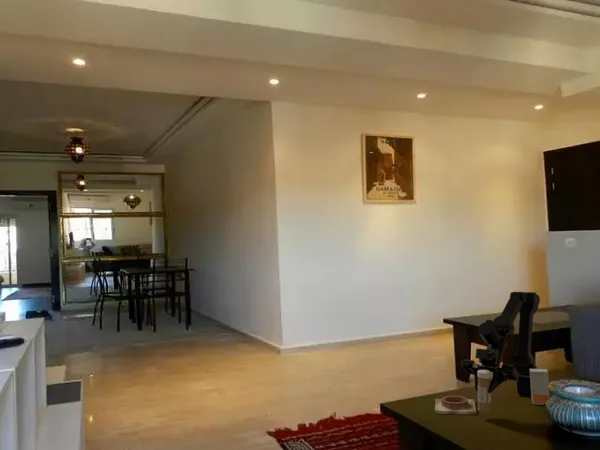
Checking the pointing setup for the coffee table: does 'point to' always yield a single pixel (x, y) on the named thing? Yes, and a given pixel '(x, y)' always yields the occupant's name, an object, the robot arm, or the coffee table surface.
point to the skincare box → (539, 386)
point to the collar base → (455, 405)
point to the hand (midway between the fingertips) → (482, 391)
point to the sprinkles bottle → (484, 390)
